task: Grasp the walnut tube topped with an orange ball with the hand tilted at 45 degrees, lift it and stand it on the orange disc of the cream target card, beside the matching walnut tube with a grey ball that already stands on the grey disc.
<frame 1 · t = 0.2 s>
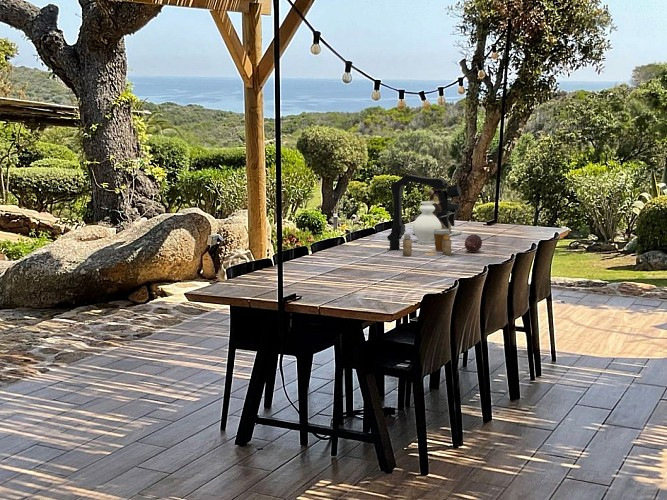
hand: (450, 227, 482), 15 cm above the table, tool tilted 15°, fingers open, 9 cm apart
target card: (419, 256, 478), on the table
disposable coffee cup: (441, 250, 498), on the table
pine cone: (473, 252, 493), on the table
grey ball tube: (407, 255, 474), point 1 cm above the table, touching target card
decorative vase: (426, 242, 528), on the table
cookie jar: (436, 235, 563), on the table
orange ball tube: (446, 255, 479), on the table
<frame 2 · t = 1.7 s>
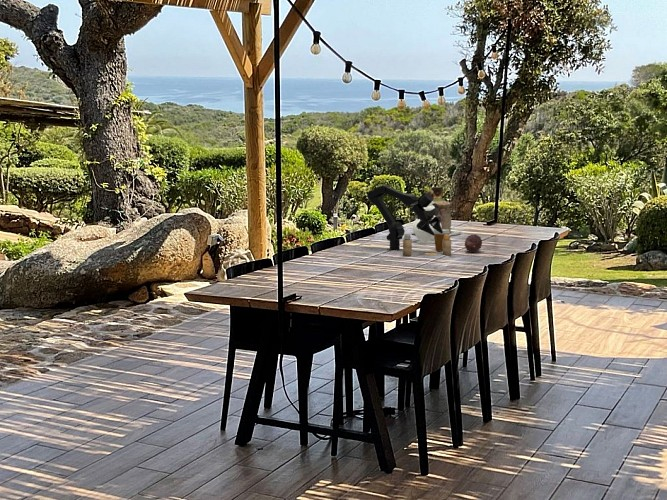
hand: (438, 233, 480), 12 cm above the table, tool tilted 45°, fingers open, 9 cm apart
nothing on the table moved.
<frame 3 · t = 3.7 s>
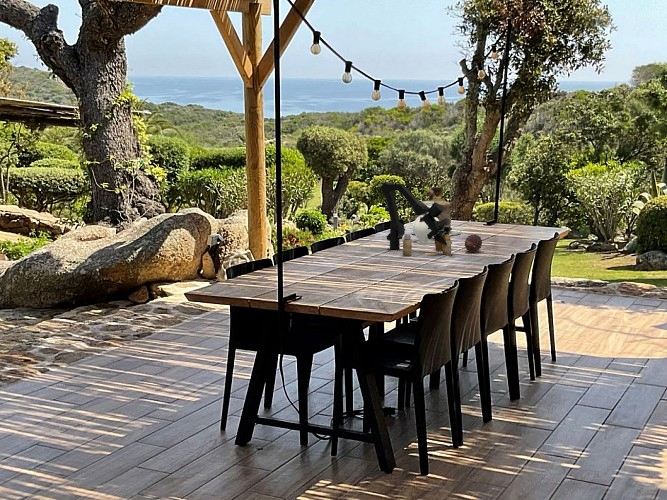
hand: (448, 244, 477), 7 cm above the table, tool tilted 45°, fingers closed on orange ball tube, 5 cm apart
orange ball tube: (446, 255, 479), on the table, touching gripper
everything else where it was.
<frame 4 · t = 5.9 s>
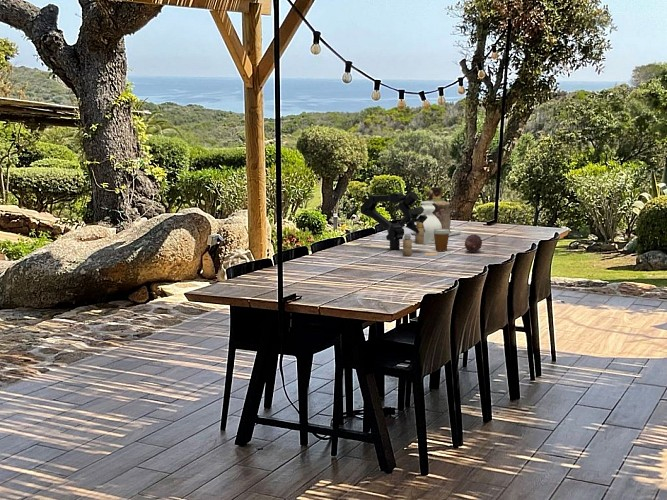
hand: (421, 232, 484), 12 cm above the table, tool tilted 45°, fingers closed on orange ball tube, 5 cm apart
orange ball tube: (419, 243, 486), point 6 cm above the table, touching gripper
everything else where it was.
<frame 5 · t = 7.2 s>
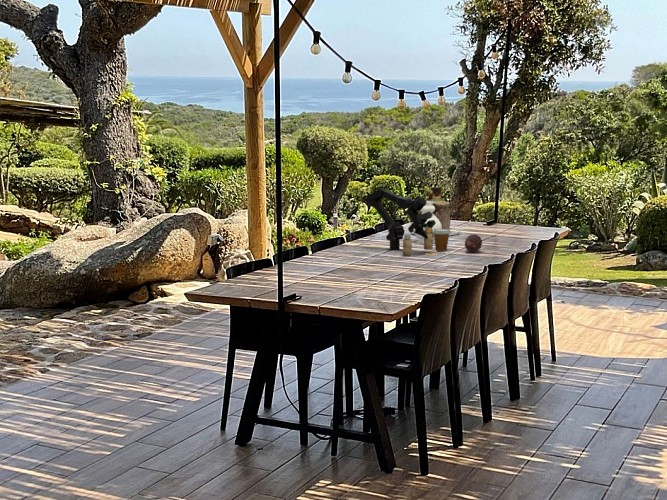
hand: (430, 237, 479), 10 cm above the table, tool tilted 45°, fingers closed on orange ball tube, 5 cm apart
orange ball tube: (428, 249, 481), point 3 cm above the table, touching gripper
everything else where it was.
when the fingers open (9 cm above the table, at t = 8.0 s): orange ball tube drops 1 cm, resting on target card.
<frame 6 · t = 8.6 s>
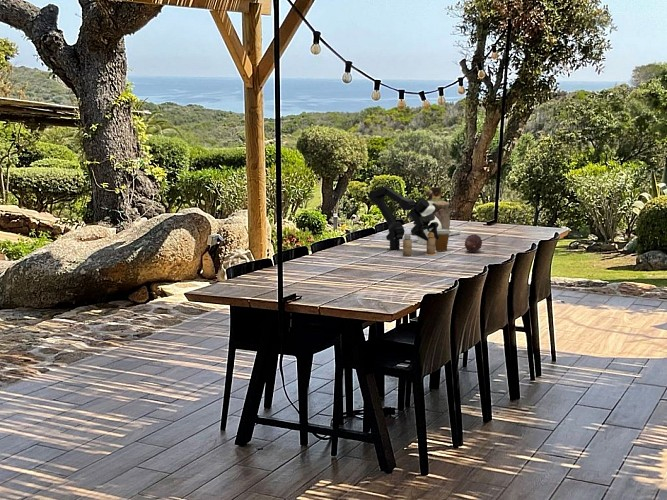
hand: (433, 239, 478), 9 cm above the table, tool tilted 45°, fingers open, 9 cm apart
orange ball tube: (430, 253, 480), point 1 cm above the table, touching target card
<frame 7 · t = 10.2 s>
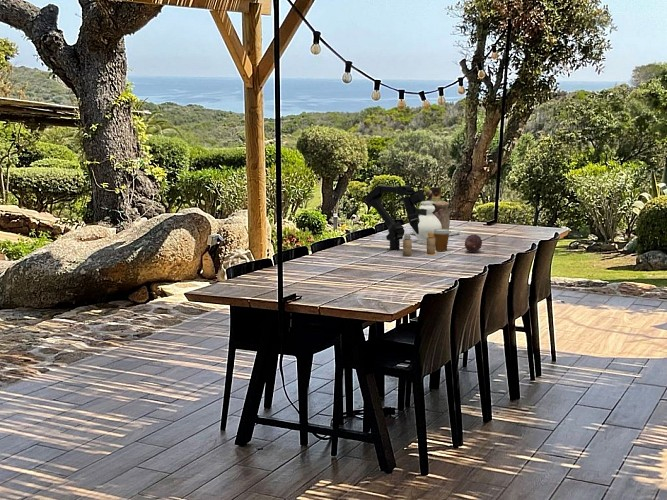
hand: (417, 233, 486), 12 cm above the table, tool tilted 20°, fingers open, 9 cm apart
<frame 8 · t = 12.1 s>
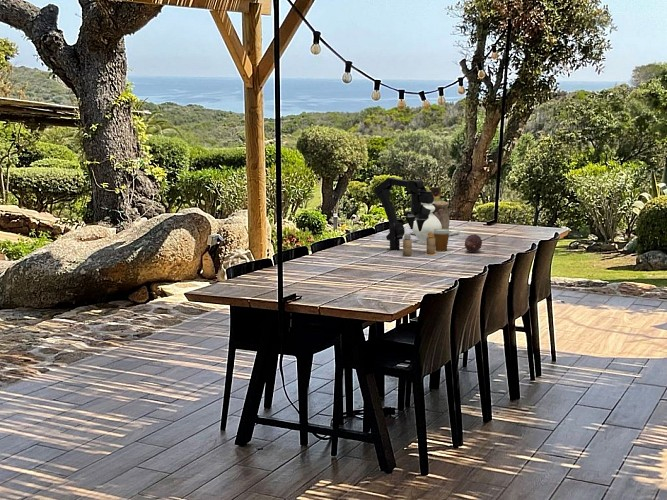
hand: (415, 230, 487), 13 cm above the table, tool pointing down, fingers open, 9 cm apart
at the end: orange ball tube inside the target area (0.1 cm from its centre), point 0.9 cm above the table; orange ball tube tilted 0°; the gripper is holding nothing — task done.
